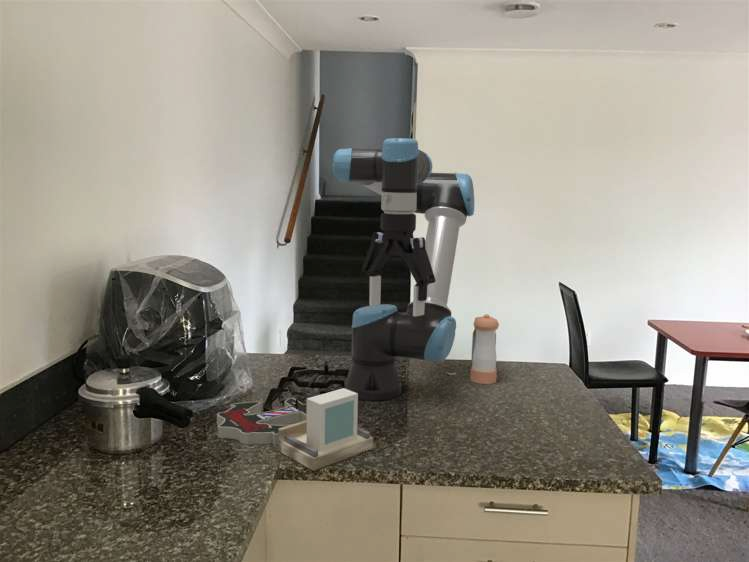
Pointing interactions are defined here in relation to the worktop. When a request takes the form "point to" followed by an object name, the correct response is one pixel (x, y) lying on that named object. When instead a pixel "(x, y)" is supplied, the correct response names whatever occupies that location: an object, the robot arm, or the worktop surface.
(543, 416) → the worktop surface
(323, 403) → the white box
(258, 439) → the decorative sign
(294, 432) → the tray
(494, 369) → the salt shaker
